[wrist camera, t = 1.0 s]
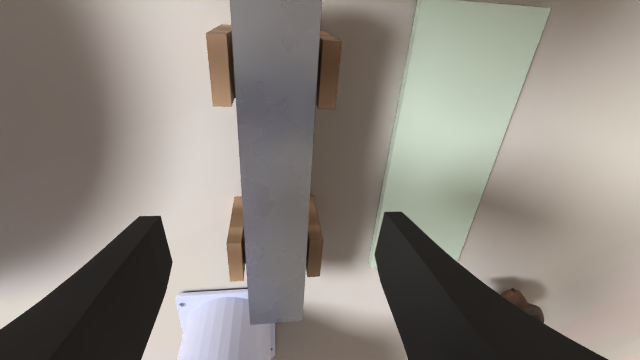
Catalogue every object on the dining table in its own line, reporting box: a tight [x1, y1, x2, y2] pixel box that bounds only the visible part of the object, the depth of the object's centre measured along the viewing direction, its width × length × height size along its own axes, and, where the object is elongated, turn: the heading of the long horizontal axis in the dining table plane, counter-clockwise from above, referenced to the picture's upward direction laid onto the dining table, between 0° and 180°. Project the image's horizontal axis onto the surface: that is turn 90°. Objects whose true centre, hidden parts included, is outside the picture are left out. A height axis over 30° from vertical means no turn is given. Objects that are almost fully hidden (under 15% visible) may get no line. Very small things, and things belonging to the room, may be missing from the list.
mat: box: [368, 0, 551, 268], centre depth 23 cm, size 20×8×1 cm, turn 176°
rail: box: [230, 0, 322, 325], centre depth 17 cm, size 18×3×3 cm, turn 176°
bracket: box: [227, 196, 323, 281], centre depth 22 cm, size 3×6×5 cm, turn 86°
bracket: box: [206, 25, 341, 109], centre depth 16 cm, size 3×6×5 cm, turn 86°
